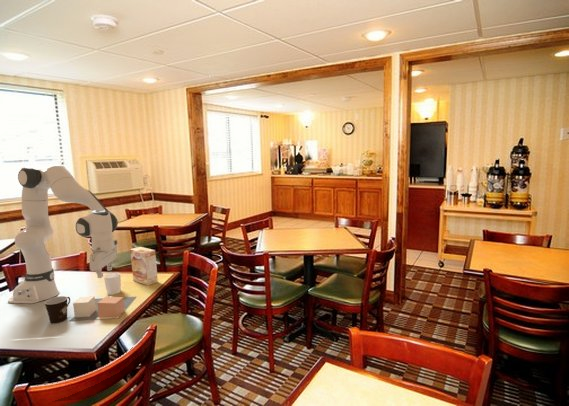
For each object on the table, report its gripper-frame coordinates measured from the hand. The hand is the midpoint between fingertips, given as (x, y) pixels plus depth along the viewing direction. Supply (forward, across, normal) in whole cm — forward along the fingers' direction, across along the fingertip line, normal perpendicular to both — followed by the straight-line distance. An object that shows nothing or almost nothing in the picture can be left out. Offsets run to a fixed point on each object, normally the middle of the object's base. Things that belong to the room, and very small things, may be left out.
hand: (105, 273), depth 161 cm
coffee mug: (+20, -4, +19) cm, 28 cm away
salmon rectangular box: (+19, -2, -2) cm, 19 cm away
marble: (+19, +12, +4) cm, 23 cm away
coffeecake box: (+20, +40, -4) cm, 45 cm away
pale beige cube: (+20, 0, +10) cm, 22 cm away
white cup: (+20, +25, +8) cm, 33 cm away
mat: (+20, +5, +4) cm, 21 cm away
